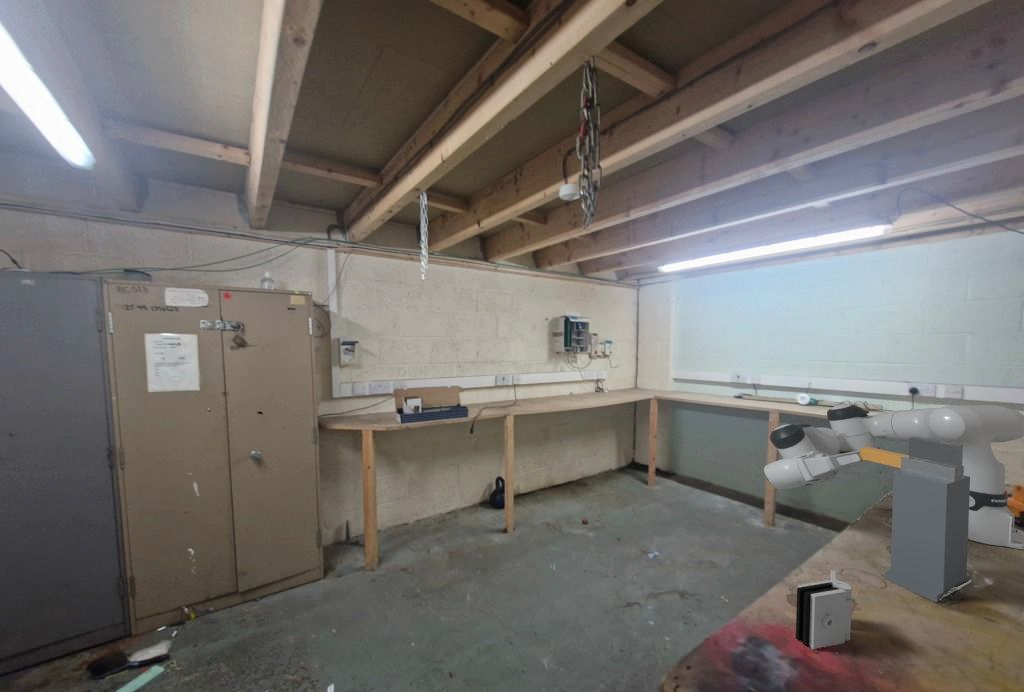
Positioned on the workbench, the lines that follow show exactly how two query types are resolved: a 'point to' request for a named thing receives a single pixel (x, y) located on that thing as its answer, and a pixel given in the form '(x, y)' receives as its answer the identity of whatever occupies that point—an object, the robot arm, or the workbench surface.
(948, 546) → the stand
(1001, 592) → the workbench surface
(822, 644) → the hinge
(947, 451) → the bar
